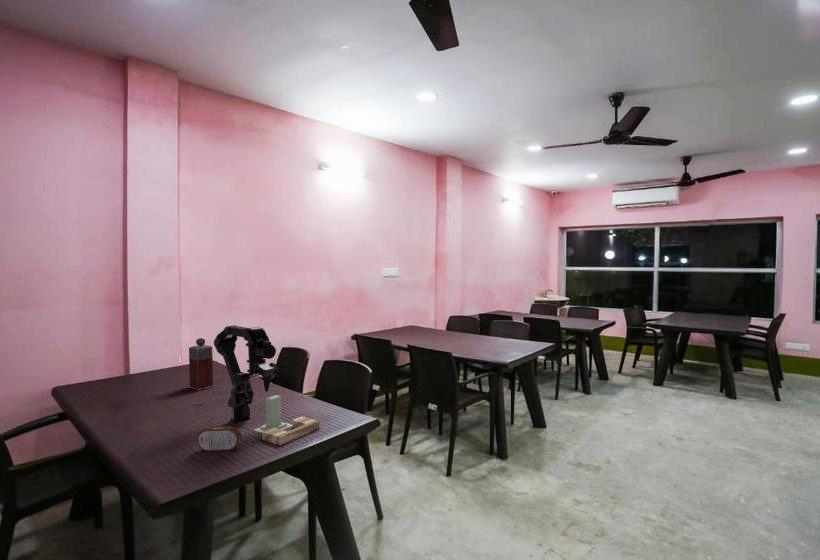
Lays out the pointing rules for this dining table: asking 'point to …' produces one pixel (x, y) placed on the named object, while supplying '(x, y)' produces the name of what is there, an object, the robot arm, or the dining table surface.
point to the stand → (301, 428)
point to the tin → (219, 438)
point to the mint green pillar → (273, 413)
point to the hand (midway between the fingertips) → (257, 394)
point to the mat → (280, 429)
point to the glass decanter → (200, 365)
